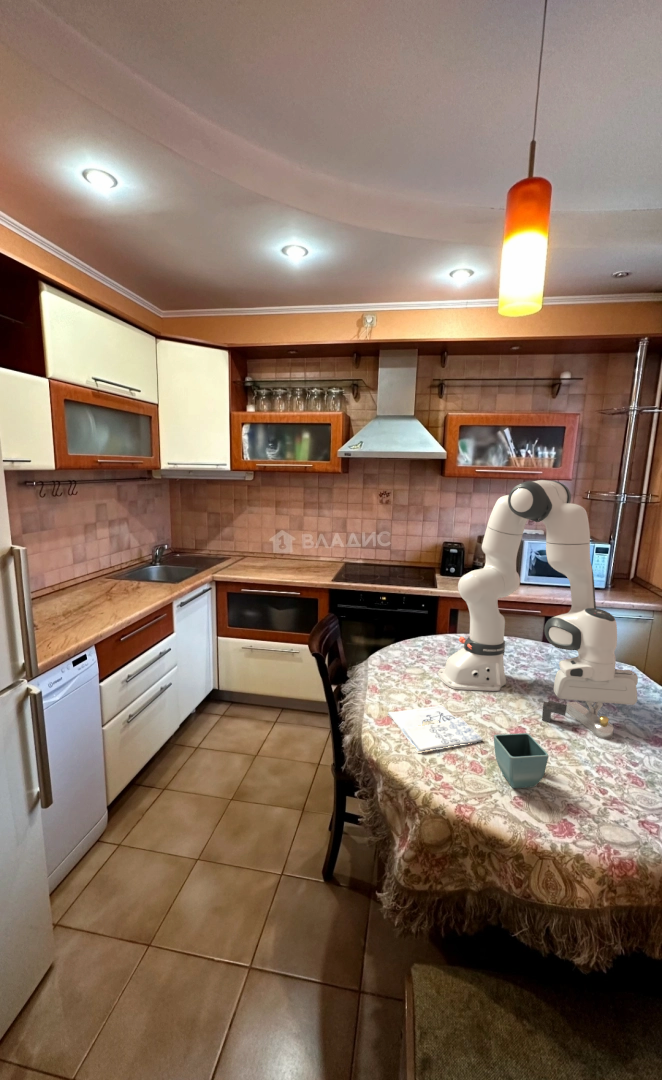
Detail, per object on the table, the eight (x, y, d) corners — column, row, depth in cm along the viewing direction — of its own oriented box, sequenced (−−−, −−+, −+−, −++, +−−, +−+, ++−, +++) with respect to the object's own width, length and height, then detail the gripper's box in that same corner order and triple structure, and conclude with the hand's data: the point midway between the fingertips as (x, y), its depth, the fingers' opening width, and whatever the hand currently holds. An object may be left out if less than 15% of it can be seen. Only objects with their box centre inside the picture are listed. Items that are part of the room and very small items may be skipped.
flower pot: (490, 769, 104) (492, 734, 103) (525, 767, 105) (528, 732, 103) (508, 795, 95) (510, 757, 94) (546, 793, 96) (549, 755, 95)
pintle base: (620, 759, 108) (623, 736, 107) (536, 735, 118) (538, 714, 117) (619, 725, 123) (621, 704, 122) (544, 706, 133) (546, 687, 132)
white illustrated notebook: (417, 757, 109) (418, 749, 109) (386, 715, 128) (386, 708, 128) (484, 744, 114) (484, 737, 114) (444, 706, 134) (444, 699, 133)
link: (616, 738, 114) (617, 728, 114) (601, 740, 113) (602, 730, 113) (577, 710, 128) (578, 701, 127) (563, 711, 127) (564, 702, 127)
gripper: (632, 666, 122) (629, 713, 123) (553, 660, 126) (551, 706, 128) (643, 675, 115) (640, 724, 117) (559, 669, 120) (557, 717, 121)
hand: (593, 715), depth 122 cm, fingers closed, pressing on link
